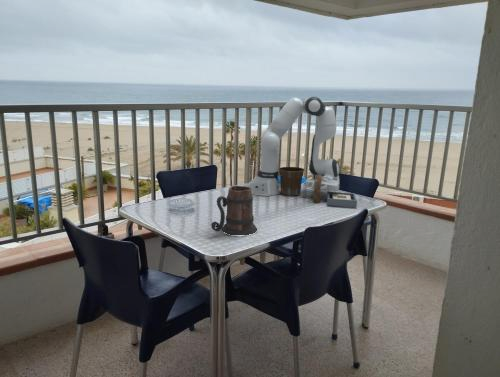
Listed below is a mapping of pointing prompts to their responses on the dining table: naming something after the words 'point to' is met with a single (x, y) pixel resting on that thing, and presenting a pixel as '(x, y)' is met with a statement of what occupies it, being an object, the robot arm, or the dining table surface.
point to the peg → (317, 188)
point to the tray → (341, 200)
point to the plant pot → (291, 180)
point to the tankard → (236, 212)
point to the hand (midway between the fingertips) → (317, 187)
